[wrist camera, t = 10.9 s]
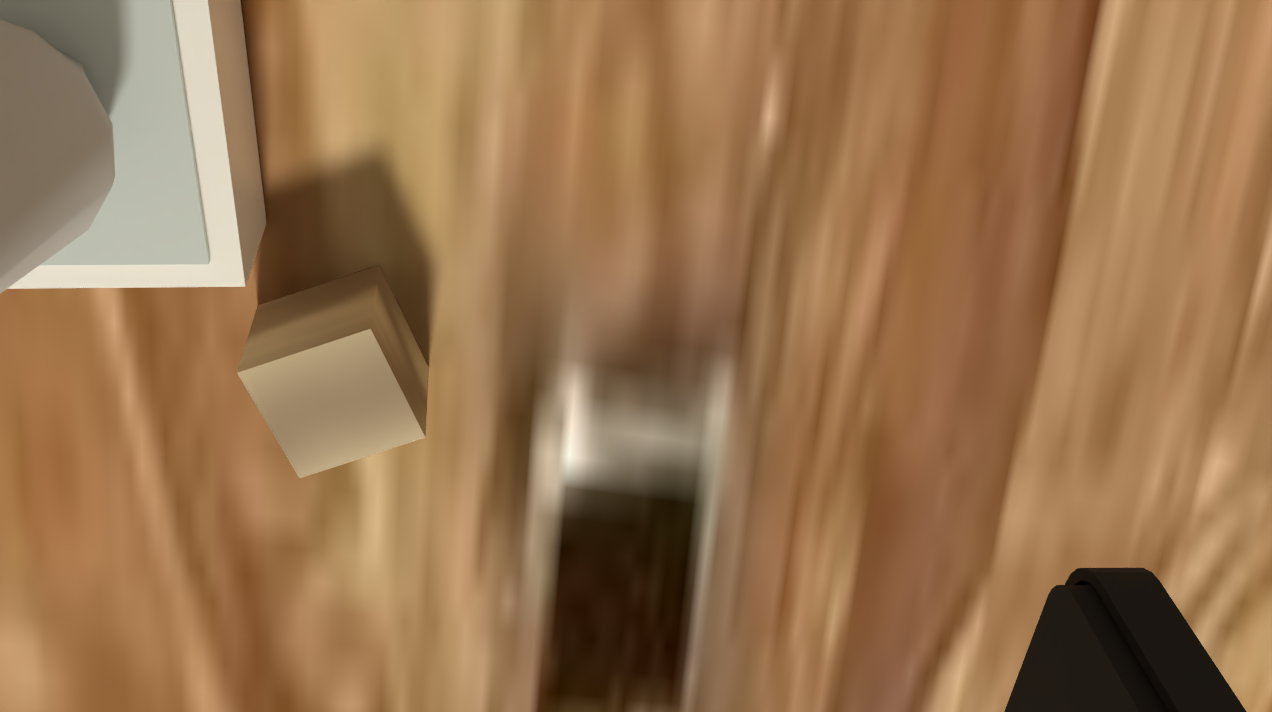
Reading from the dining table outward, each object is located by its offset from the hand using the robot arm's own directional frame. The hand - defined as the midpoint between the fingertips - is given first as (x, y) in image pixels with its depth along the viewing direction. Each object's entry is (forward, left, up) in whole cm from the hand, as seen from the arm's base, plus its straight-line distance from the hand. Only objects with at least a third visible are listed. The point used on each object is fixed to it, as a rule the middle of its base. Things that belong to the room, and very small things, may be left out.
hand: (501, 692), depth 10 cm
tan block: (+12, -4, -26) cm, 29 cm away
